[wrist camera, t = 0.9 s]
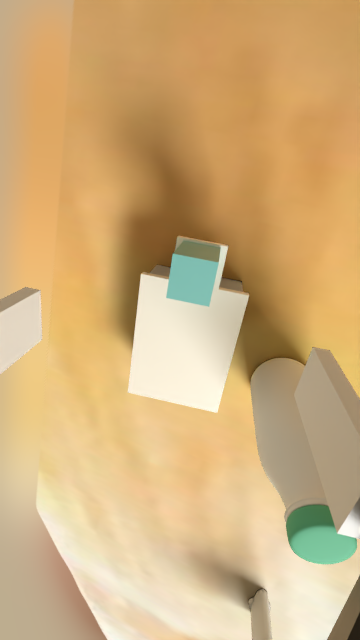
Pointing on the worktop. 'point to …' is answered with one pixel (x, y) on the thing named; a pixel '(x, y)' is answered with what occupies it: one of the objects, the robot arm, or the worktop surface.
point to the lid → (186, 328)
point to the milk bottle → (294, 464)
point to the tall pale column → (260, 616)
